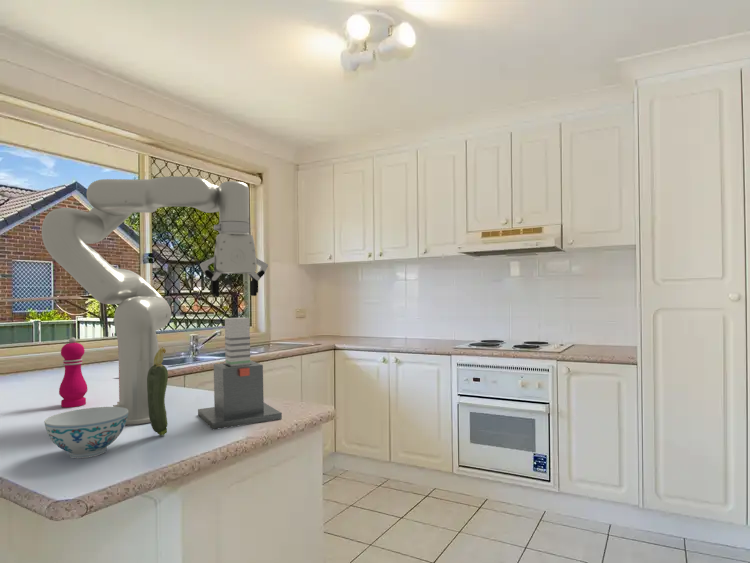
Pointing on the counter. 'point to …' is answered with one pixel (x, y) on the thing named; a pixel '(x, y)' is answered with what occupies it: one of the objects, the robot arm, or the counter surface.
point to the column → (237, 342)
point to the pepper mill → (73, 376)
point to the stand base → (238, 397)
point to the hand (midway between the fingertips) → (235, 296)
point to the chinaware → (86, 430)
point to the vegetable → (157, 394)
